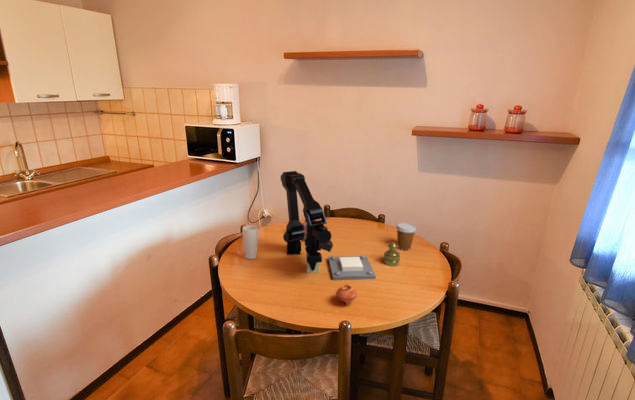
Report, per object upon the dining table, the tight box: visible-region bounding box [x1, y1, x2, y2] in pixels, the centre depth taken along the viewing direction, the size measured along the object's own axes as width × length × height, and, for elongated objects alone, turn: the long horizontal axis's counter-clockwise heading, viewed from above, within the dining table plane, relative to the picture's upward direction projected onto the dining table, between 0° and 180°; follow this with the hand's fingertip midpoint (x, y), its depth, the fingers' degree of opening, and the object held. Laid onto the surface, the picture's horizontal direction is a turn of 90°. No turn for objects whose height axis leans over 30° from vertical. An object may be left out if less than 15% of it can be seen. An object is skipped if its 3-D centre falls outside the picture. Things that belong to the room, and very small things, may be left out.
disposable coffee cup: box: [395, 222, 417, 251], centre depth 174 cm, size 10×10×12 cm
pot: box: [335, 284, 358, 307], centre depth 130 cm, size 8×8×7 cm
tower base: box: [327, 255, 377, 281], centre depth 153 cm, size 18×18×4 cm
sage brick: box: [306, 261, 320, 274], centre depth 151 cm, size 5×5×5 cm
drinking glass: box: [241, 224, 258, 260], centre depth 160 cm, size 7×7×15 cm
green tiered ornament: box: [383, 241, 401, 267], centre depth 159 cm, size 7×7×10 cm
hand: (312, 267), depth 152 cm, fingers closed on sage brick, 5 cm apart
